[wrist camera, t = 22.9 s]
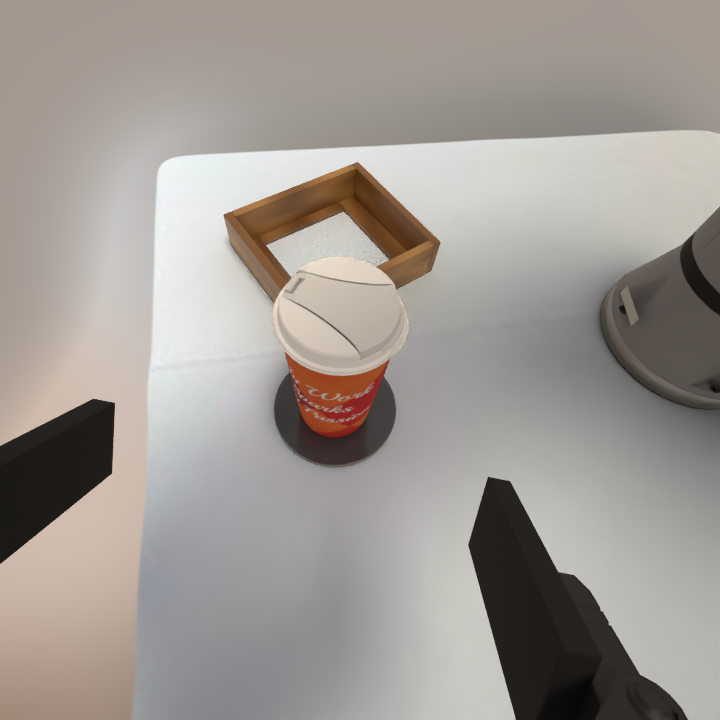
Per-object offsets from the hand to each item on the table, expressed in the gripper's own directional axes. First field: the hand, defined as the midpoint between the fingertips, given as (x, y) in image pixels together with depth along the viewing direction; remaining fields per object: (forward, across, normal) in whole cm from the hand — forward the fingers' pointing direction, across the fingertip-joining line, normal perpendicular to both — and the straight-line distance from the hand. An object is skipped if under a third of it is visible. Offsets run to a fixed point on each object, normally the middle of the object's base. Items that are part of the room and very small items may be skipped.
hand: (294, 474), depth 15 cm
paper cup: (+20, 0, -5) cm, 21 cm away
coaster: (+21, 0, -5) cm, 21 cm away
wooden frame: (+32, -4, +6) cm, 33 cm away
